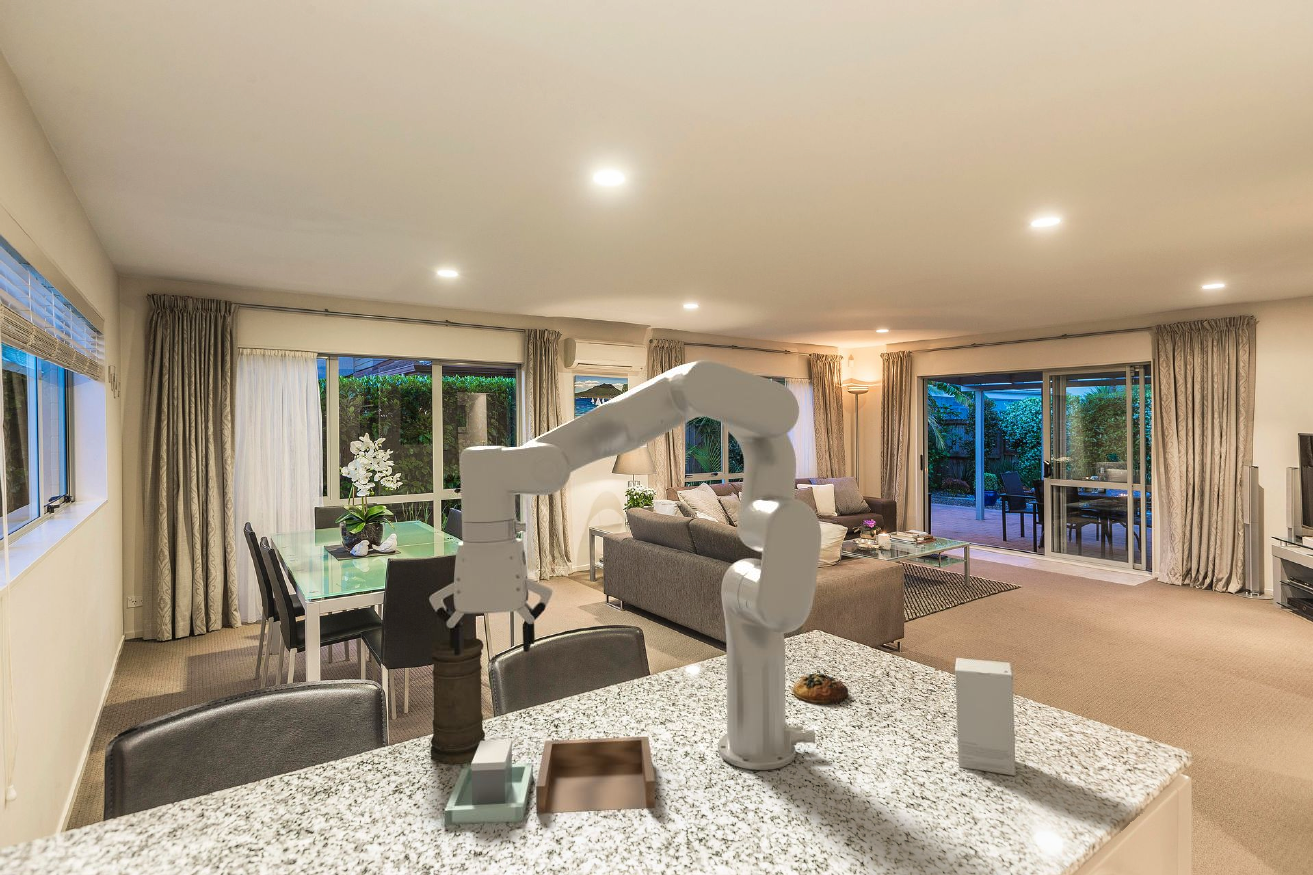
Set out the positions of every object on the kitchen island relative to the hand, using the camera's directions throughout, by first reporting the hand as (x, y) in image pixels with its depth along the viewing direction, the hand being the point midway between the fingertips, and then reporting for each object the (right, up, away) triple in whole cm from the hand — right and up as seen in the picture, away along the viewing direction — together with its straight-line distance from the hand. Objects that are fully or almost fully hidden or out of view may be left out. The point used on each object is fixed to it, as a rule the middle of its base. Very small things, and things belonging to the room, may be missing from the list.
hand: (493, 650), depth 99 cm
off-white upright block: (0, -21, 0) cm, 21 cm away
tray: (0, -22, 0) cm, 21 cm away
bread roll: (+56, -21, +39) cm, 72 cm away
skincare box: (+75, -21, +10) cm, 79 cm away
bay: (+15, -21, +3) cm, 26 cm away
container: (-9, -22, +15) cm, 28 cm away
